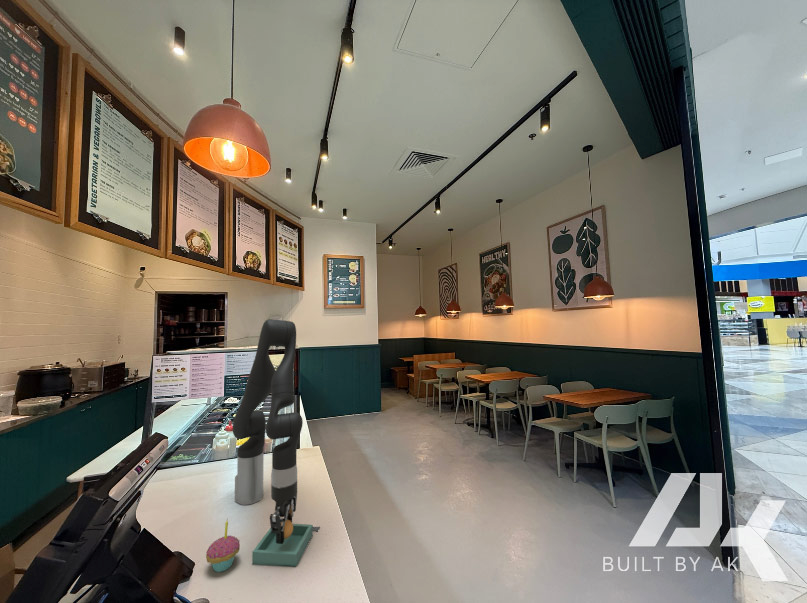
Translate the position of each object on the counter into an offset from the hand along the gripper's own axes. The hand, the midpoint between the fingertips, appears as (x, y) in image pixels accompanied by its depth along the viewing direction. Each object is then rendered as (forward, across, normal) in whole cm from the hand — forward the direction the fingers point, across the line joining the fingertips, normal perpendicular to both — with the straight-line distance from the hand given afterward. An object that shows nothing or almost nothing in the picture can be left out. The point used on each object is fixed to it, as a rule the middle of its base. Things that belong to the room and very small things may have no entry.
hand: (284, 536), depth 100 cm
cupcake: (+4, +8, -14) cm, 17 cm away
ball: (-2, 0, 0) cm, 2 cm away
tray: (+4, 0, 0) cm, 4 cm away
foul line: (+4, -10, 0) cm, 10 cm away
